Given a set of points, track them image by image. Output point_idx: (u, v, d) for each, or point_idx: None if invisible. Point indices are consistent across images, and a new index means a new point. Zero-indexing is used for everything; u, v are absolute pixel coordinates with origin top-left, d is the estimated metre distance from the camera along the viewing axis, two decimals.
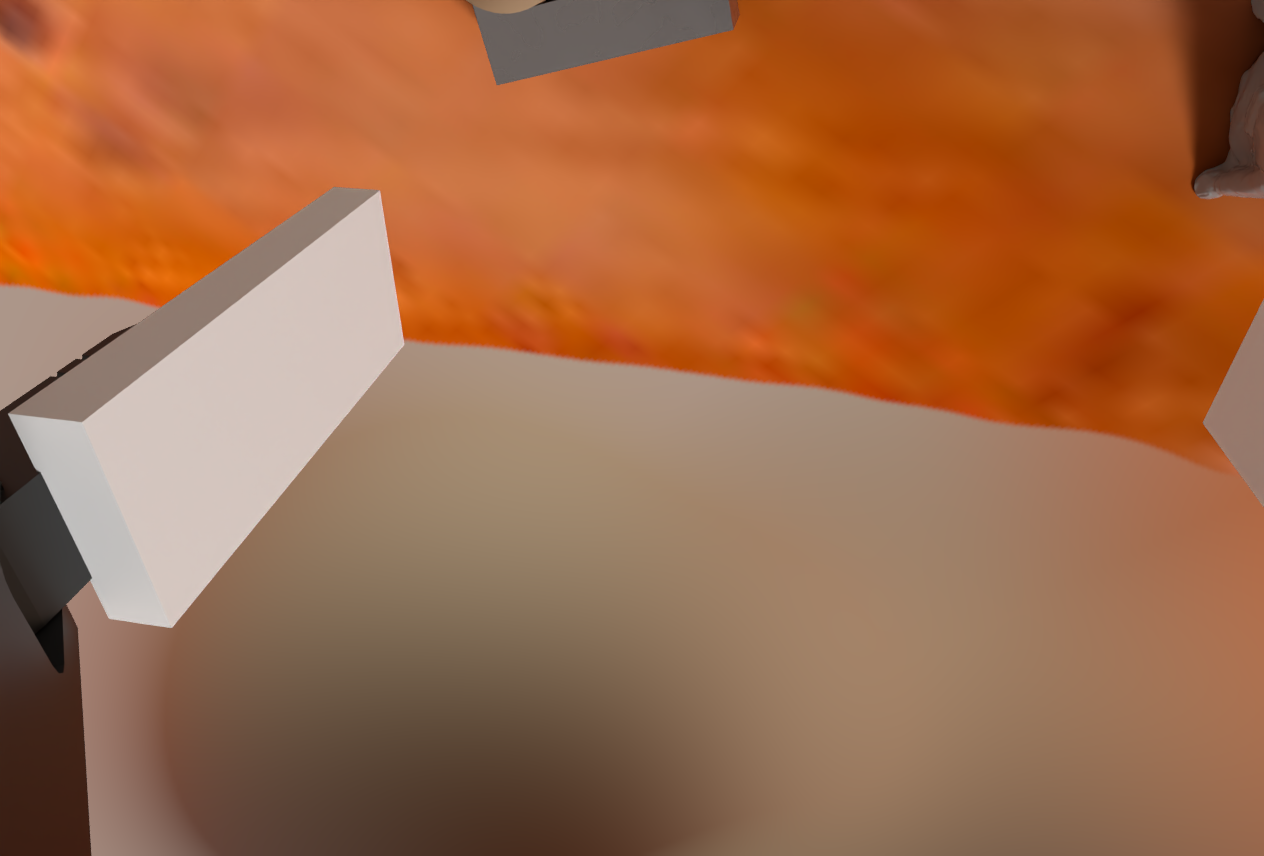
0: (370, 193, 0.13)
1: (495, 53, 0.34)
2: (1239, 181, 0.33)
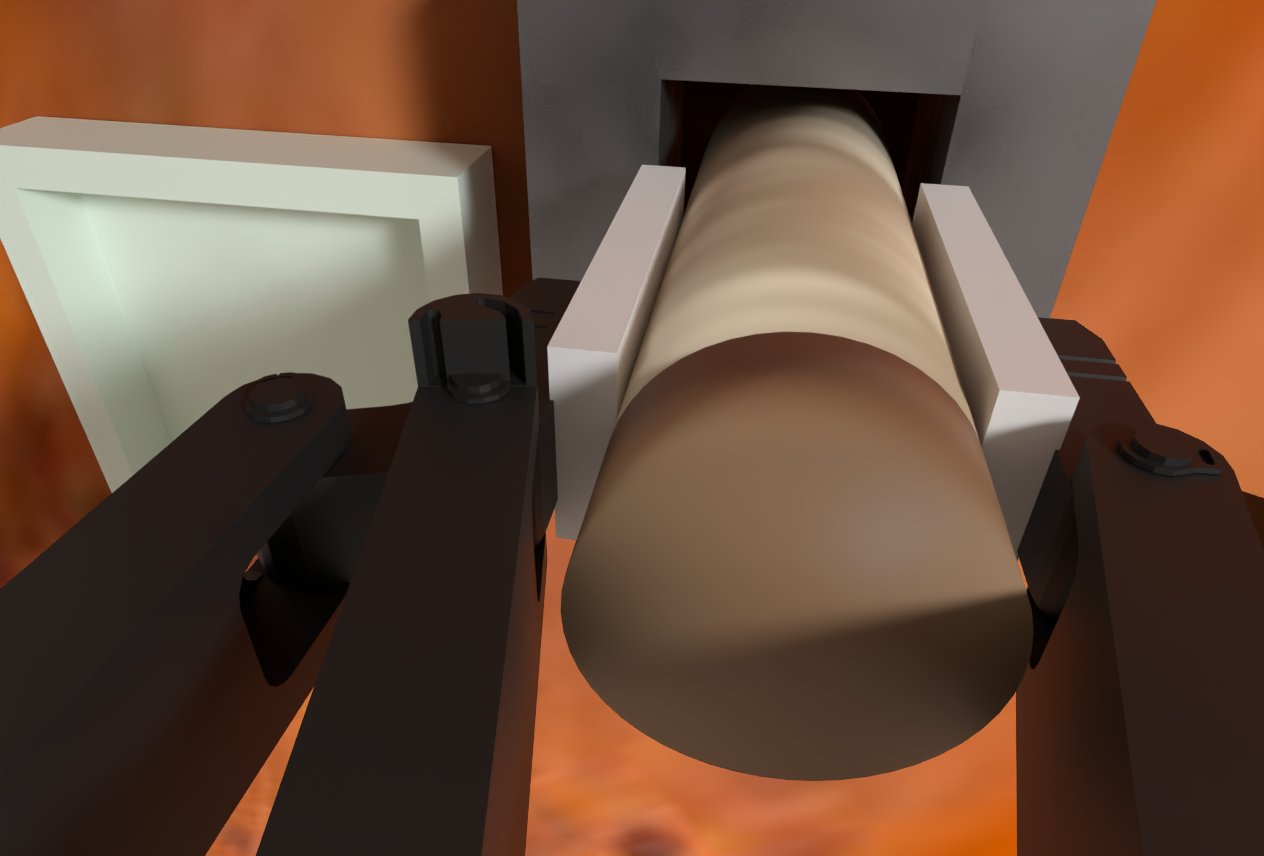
0: (680, 170, 0.14)
1: None
2: None
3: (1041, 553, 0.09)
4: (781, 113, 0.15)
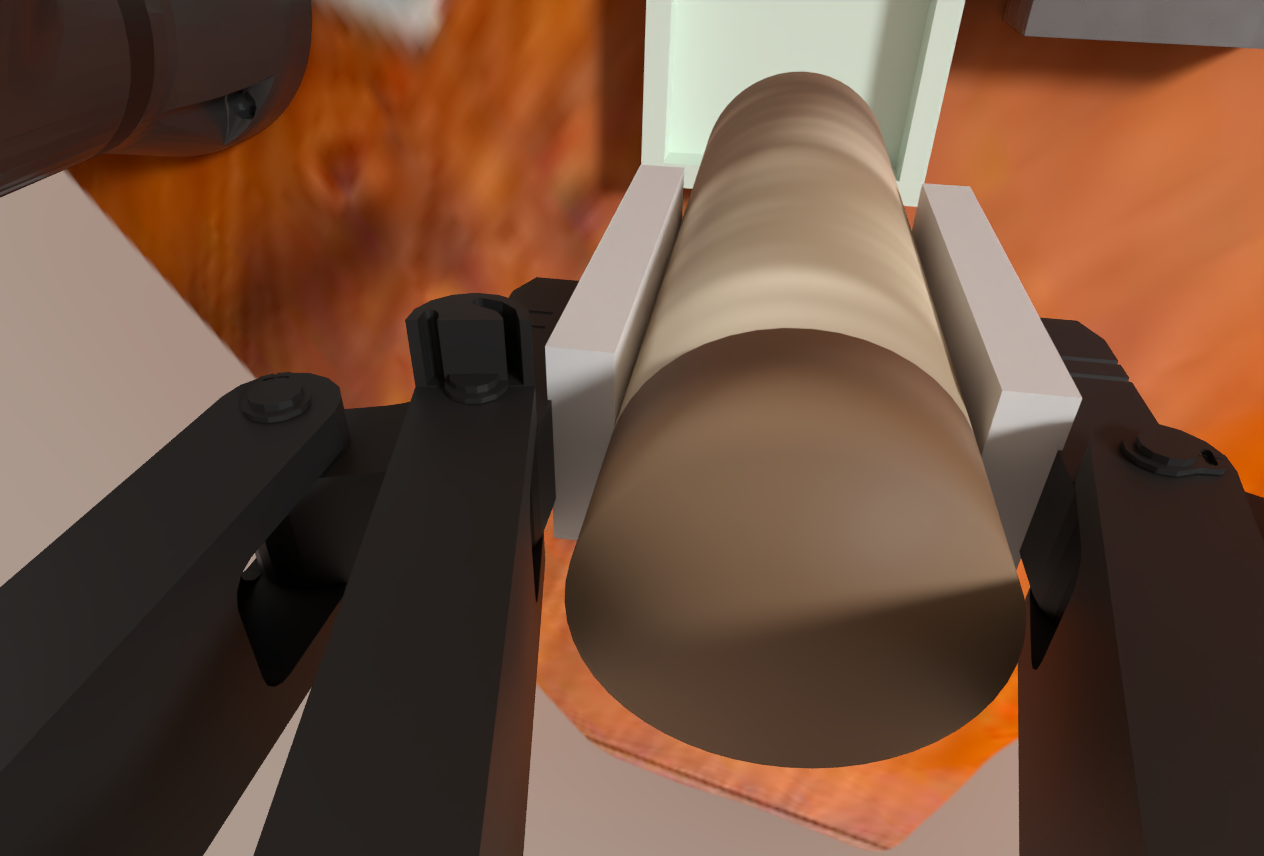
0: (678, 169, 0.14)
1: None
2: None
3: (1044, 553, 0.09)
4: (780, 113, 0.15)
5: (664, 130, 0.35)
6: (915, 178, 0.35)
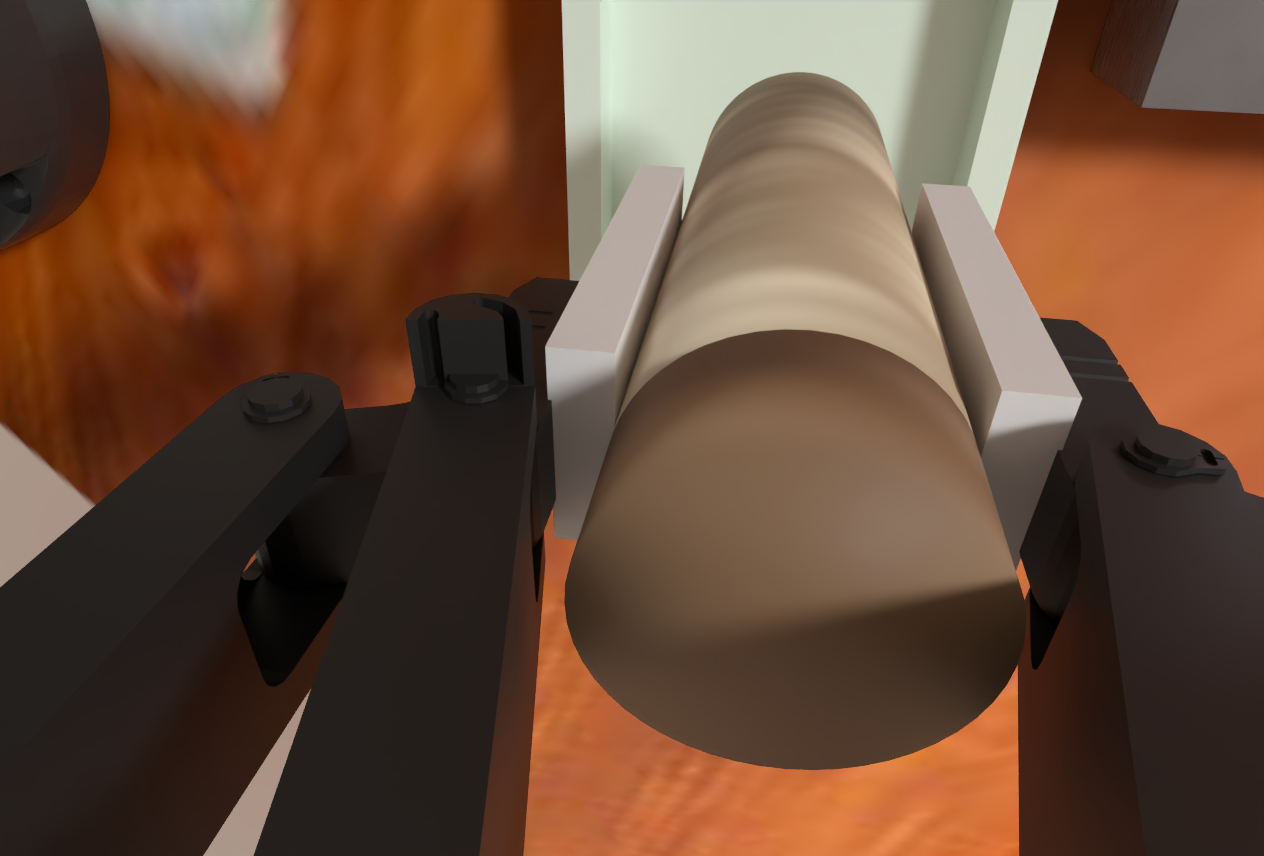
0: (678, 170, 0.14)
1: None
2: None
3: (1043, 554, 0.09)
4: (780, 114, 0.15)
5: (599, 231, 0.25)
6: None
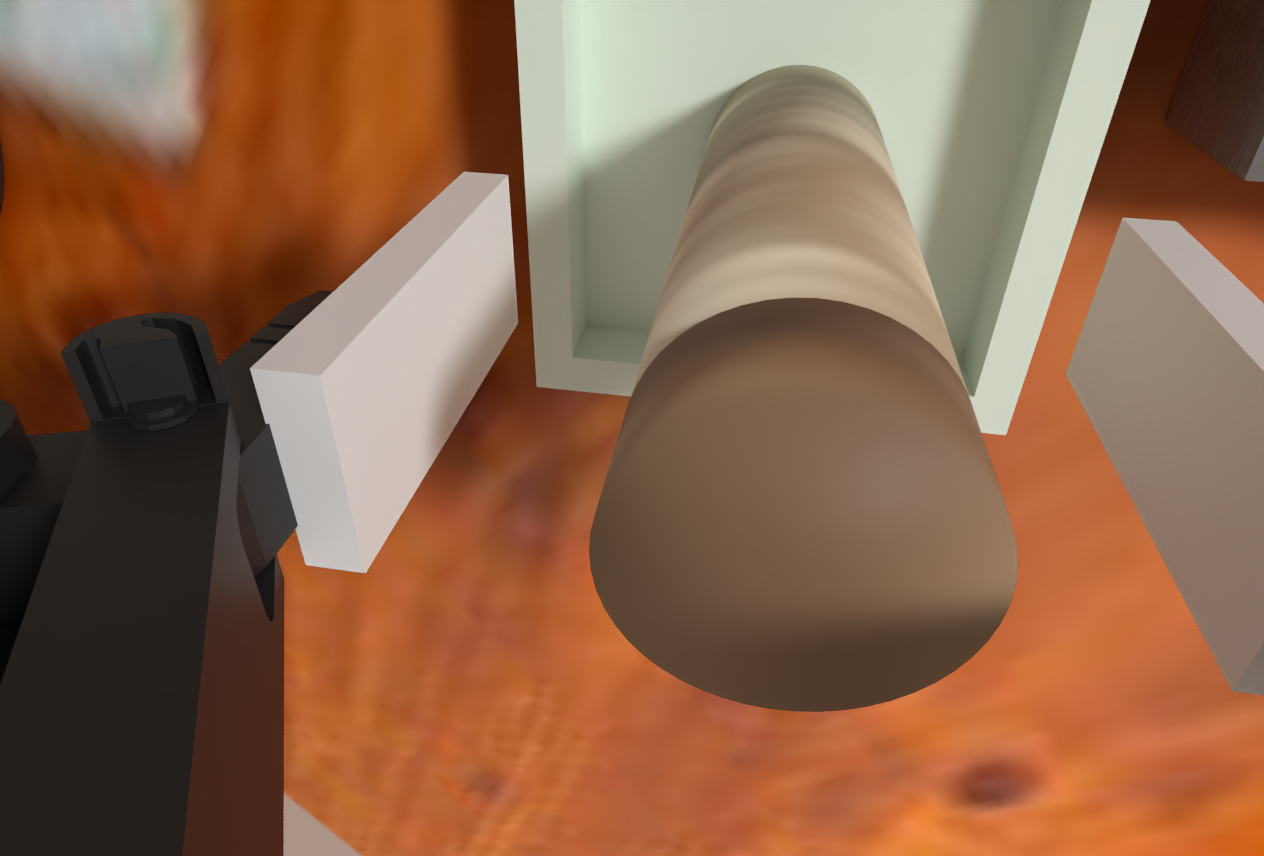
0: (500, 177, 0.13)
1: None
2: None
3: None
4: (782, 104, 0.15)
5: (569, 308, 0.21)
6: (1002, 393, 0.20)
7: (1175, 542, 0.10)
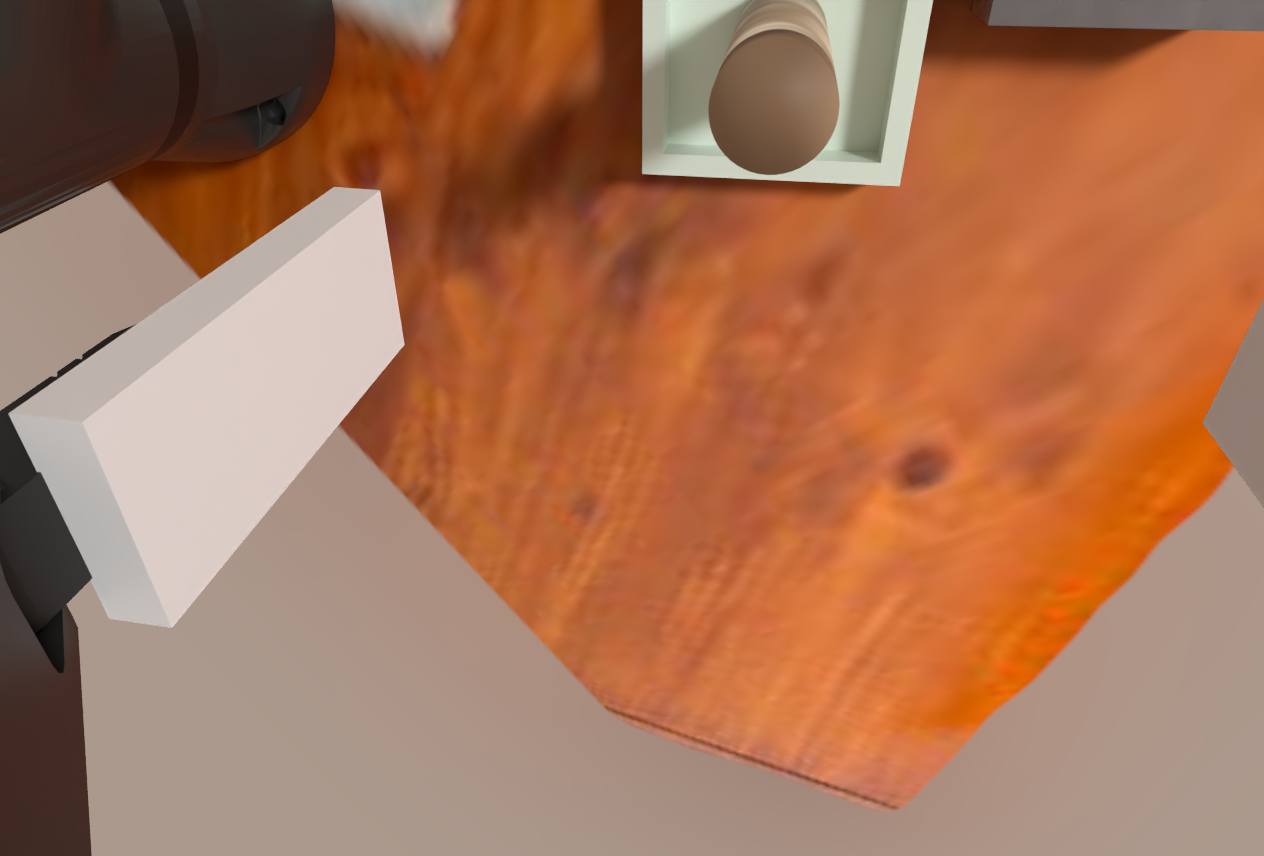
0: (370, 193, 0.13)
1: (1234, 20, 0.31)
2: None
3: None
4: None
5: (662, 123, 0.38)
6: (895, 159, 0.37)
7: None
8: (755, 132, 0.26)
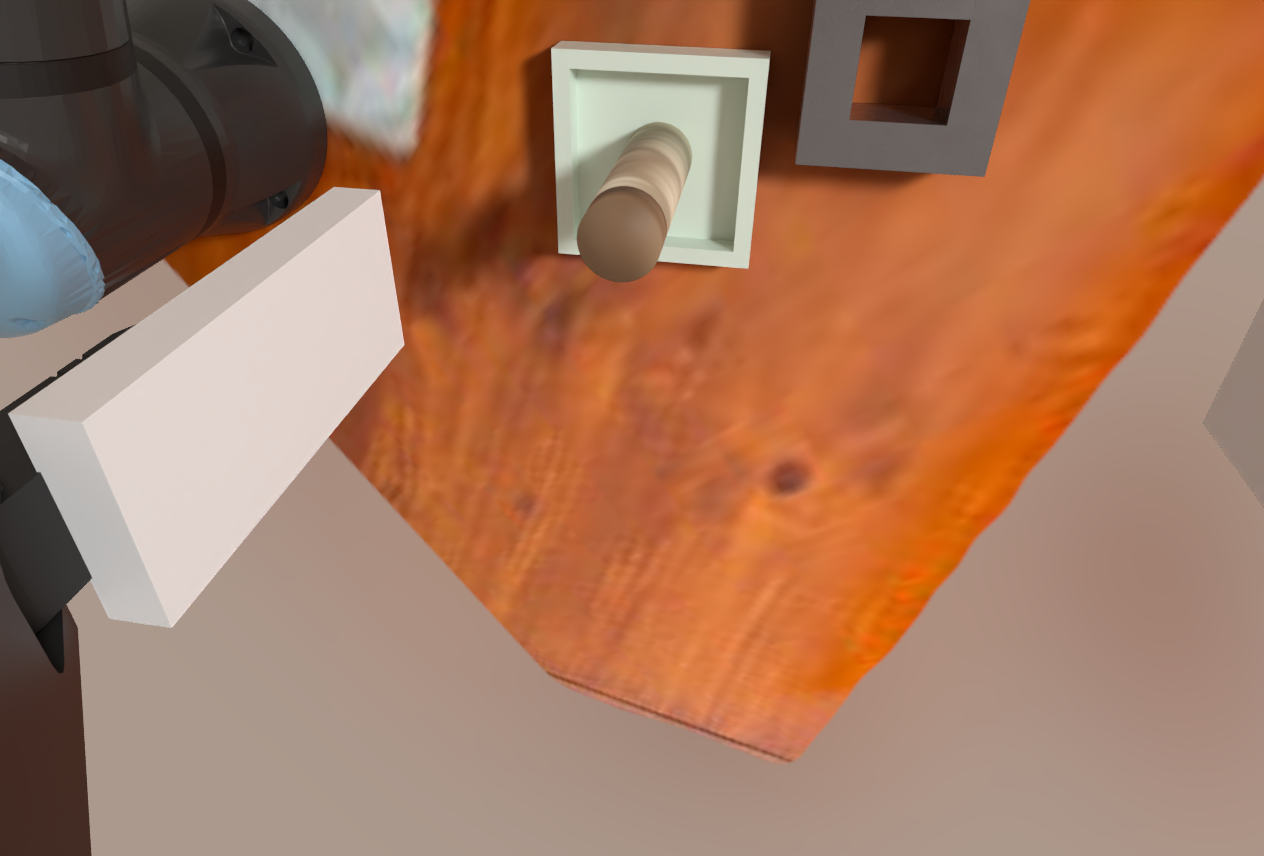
0: (370, 193, 0.13)
1: (963, 168, 0.44)
2: None
3: None
4: (644, 138, 0.46)
5: (572, 217, 0.51)
6: (743, 250, 0.50)
7: None
8: (608, 255, 0.39)
